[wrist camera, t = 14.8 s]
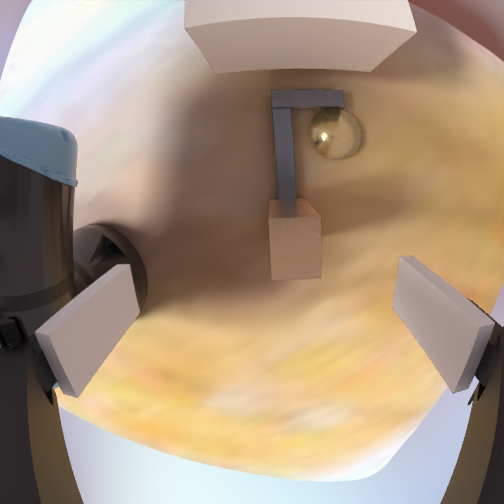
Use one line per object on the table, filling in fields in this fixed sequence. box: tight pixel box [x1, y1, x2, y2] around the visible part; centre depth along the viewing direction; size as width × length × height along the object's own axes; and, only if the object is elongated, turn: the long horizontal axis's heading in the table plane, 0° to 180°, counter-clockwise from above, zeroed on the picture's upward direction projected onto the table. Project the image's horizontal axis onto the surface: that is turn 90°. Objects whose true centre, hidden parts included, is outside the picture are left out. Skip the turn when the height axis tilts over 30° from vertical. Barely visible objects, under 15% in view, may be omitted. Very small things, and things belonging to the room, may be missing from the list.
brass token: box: [310, 108, 362, 159], centre depth 30 cm, size 6×6×1 cm
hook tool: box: [268, 89, 344, 281], centre depth 26 cm, size 18×9×12 cm, turn 4°
